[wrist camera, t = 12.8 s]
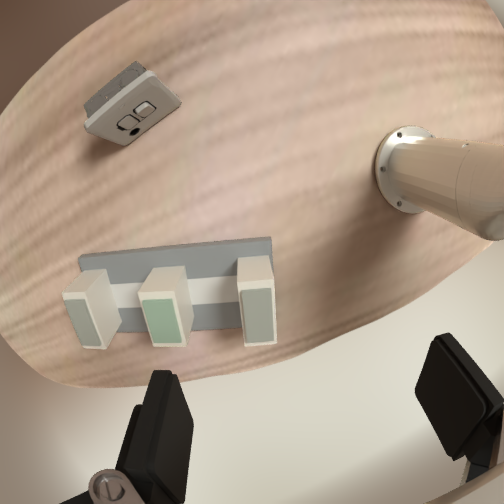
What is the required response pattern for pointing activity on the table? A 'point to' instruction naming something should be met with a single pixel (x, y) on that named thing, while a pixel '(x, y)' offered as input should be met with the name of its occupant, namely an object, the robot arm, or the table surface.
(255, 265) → the mounted modules
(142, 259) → the rail board
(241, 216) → the table surface
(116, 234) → the table surface
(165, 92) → the electrical switch
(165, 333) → the block
